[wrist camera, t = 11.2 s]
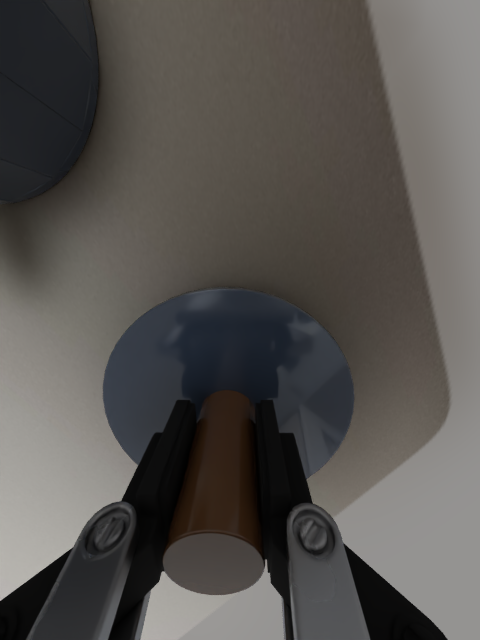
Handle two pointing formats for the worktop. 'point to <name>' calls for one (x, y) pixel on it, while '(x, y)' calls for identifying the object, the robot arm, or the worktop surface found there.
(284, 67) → the worktop surface
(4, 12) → the pot
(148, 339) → the lid
